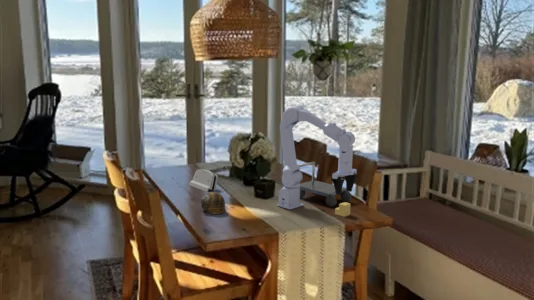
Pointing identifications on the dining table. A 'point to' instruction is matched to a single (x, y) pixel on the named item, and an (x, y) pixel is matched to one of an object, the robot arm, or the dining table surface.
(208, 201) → the seashell
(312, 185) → the trolley
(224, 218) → the dining table surface
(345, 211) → the yellow cube-like block
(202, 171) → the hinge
